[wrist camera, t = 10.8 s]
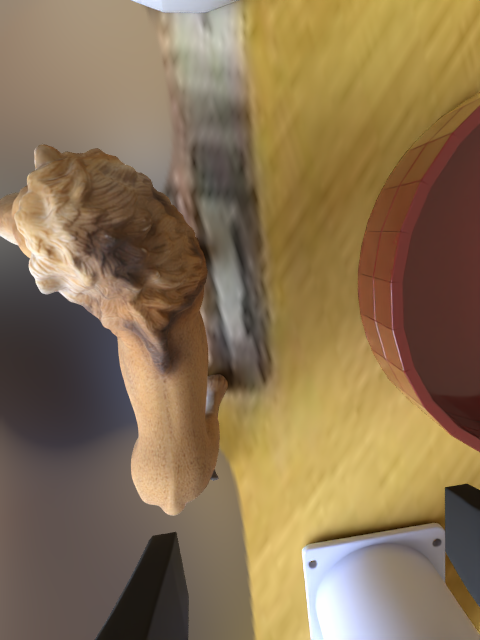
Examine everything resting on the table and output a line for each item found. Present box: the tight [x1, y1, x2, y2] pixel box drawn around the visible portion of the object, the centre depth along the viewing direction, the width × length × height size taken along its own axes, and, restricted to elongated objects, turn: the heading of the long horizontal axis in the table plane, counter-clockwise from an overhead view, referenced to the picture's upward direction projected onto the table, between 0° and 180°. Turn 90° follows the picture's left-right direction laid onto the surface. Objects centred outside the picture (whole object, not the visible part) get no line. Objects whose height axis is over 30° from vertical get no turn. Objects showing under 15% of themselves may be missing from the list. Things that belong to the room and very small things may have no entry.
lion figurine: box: [0, 145, 228, 515], centre depth 14 cm, size 15×5×9 cm, turn 16°
